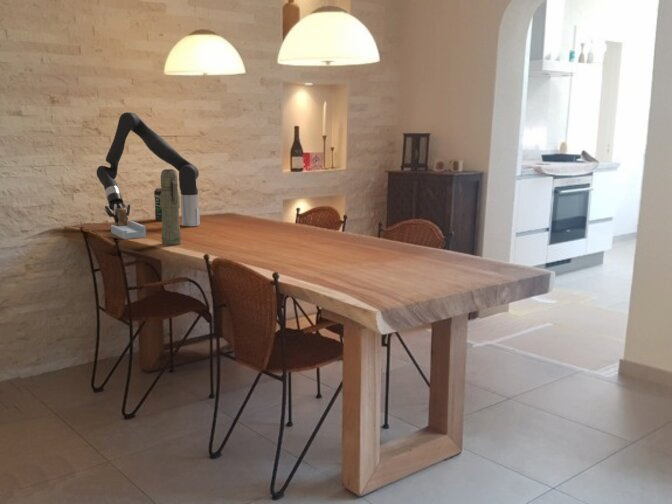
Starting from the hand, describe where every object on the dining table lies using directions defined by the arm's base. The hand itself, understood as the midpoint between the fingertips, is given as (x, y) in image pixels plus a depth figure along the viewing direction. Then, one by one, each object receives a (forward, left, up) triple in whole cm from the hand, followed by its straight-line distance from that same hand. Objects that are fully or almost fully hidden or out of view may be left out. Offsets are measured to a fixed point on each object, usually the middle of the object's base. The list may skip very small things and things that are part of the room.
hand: (121, 221), depth 356 cm
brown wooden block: (+1, -2, -5) cm, 5 cm away
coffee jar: (-12, -37, -5) cm, 39 cm away
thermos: (-36, +37, -5) cm, 52 cm away
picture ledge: (-8, +14, -5) cm, 17 cm away
